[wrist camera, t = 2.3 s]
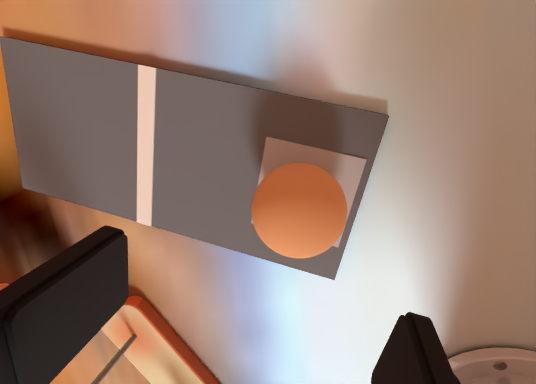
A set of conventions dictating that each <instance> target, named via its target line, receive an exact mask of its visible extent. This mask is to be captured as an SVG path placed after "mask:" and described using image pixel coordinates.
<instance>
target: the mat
mask: <svg viewBox="0 0 536 384" xmlns="http://www.w3.org/2000/svg"><path fill="white" fill-rule="evenodd" d="M0 43H1V50H2V56H3V63H4V69H5V76H6V82H7V89H8V95H9V102H10V108H11V114H12V121H13V127H14V134H15V140H16V147H17V153H18V160H19V166H20V173H21V179H22V186H23V188H25V189H28V190H32V191H35V192H38V193H42V194H45V195H49V196H52V197H55V198H59V199H62V200H65V201H69V202H72V203H76V204H79V205H82V206H86V207H89V208H92V209H96V210H99V211H103V212H106V213H109V214H113V215H116V216H120V217H123V218H126V219H130V220H133V221H136V222H137V223H141V224H144V225H148V226H153V227H157V228H160V229H163V230H167V231H170V232H174V233H177V234H180V235H184V236H187V237H191V238H194V239H197V240H201V241H204V242H207V243H211V244H214V245H218V246H221V247H224V248H228V249H231V250H234V251H238V252H241V253H245V254H248V255H251V256H255V257H258V258H261V259H265V260H268V261H272V262H275V263H278V264H282V265H285V266H289V267H292V268H295V269H299V270H302V271H305V272H309V273H312V274H316V275H319V276H322V277H326V278H329V279H332V280H334V279H335V276H336V273H337V270H338V267H339V264H340V261H341V258H342V255H343V252H344V250H345V247H346V244H347V241H348V238H349V235H350V232H351V229H352V226H353V223H354V220H355V217H356V214H357V211H358V208H359V205H360V202H361V199H362V196H363V193H364V190H365V187H366V184H367V181H368V178H369V175H370V172H371V169H372V166H373V163H374V160H375V157H376V154H377V151H378V148H379V145H380V142H381V139H382V136H383V133H384V130H385V127H386V124H387V121H388V118H389V115H385V114H380V113H375V112H371V111H366V110H361V109H356V108H351V107H346V106H341V105H336V104H331V103H326V102H322V101H317V100H312V99H307V98H302V97H297V96H292V95H287V94H282V93H277V92H272V91H268V90H263V89H258V88H253V87H248V86H243V85H238V84H233V83H228V82H223V81H219V80H214V79H209V78H204V77H199V76H194V75H189V74H184V73H179V72H174V71H170V70H165V69H160V68H155V67H150V66H145V65H140V64H135V63H130V62H125V61H120V60H116V59H111V58H106V57H101V56H96V55H91V54H86V53H81V52H76V51H71V50H67V49H62V48H57V47H52V46H47V45H42V44H37V43H32V42H27V41H22V40H17V39H13V38H8V37H2V36H0ZM291 163H308V164H312V165H316V166H318V167H320V168H322V169H324V170H325V171H327V172H328V173H330V174H331V175H332V176H333V177H334V178H335V179H336V180H337V182H338V183H339V184H340V186H341V188H342V190H343V192H344V194H345V197H346V202H347V210H348V211H347V221H346V225H345V227H344V230H343V232H342V234H341V236H340V237H339V239H338V240H337V241H336V242H335V244H334V245H332V246H331V247H330V248H329V249H328V250H326V251H325V252H323V253H321V254H319V255H316V256H314V257H309V258H290V257H286V256H283V255H281V254H279V253H276V252H275V251H273V250H272V249H270V248H269V247H268V246H267V245H266V244H265V243H264V242H263V241H262V240H261V239H260V237H259V235H258V234H257V232H256V230H255V227H254V225H253V221H252V214H251V206H252V200H253V196H254V193H255V191H256V189H257V187H258V185H259V184H260V182H261V181H262V180H263V178H264V177H265V176H266V175H268V174H269V173H270V172H271V171H273V170H274V169H276V168H278V167H280V166H283V165H286V164H291Z"/></svg>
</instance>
